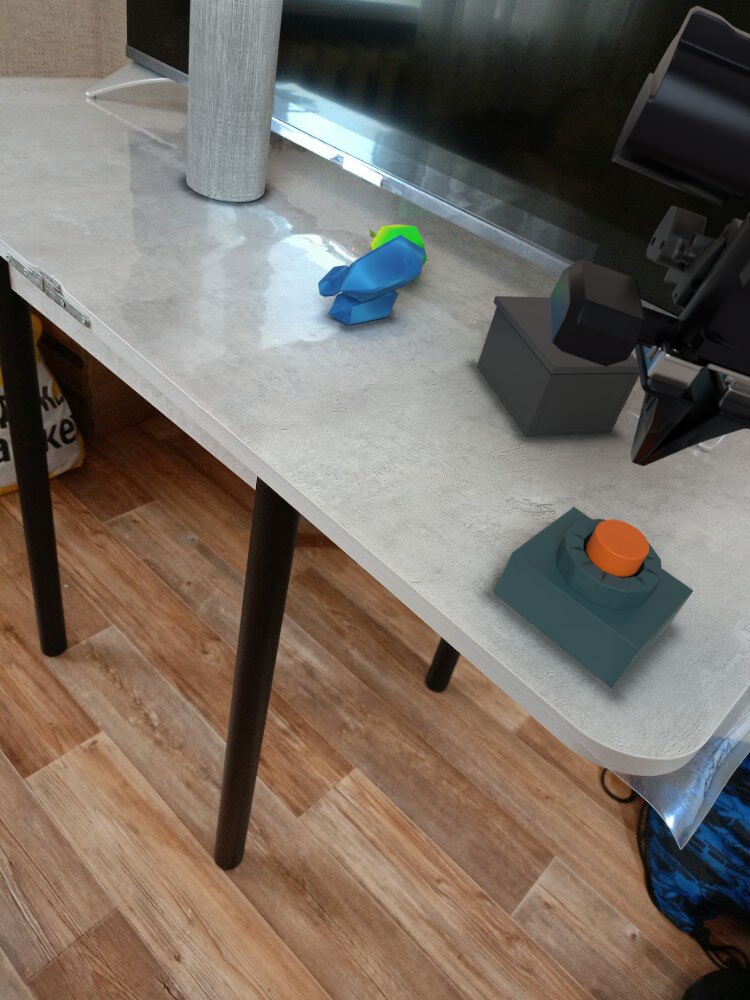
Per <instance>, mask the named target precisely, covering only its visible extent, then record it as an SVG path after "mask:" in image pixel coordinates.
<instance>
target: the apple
mask: <svg viewBox="0 0 750 1000" xmlns="http://www.w3.org/2000/svg"><path fill="white" fill-rule="evenodd" d="M368 229H369V230H368V231H369V236H370V238H373V239H372V240H371V243H370V249H371V251H373V250H374V249H376V248H378V247H380V246H381V245H383V244H385V243H387V242H388V241H390V240H392V239H394V238H395V237H397V236H399V235H402V236H404V237H405V238H407V239H408V240H410V241H411V242H413V243H415V244H416V245H418V246H419V247H421V248H423V249H424V250H425V255H424V260H423V265H422V268H423V267H424V265H425V264H426V262H427V261H428V258H427V253H426V247H425V243H424V241H423V239H422V236H421V235H420V234H421V233H420V232H419V229H418V228H417V226H416V225H415V226H414V225H407V224H398V223H397V224H390V225H382V226H381V227H380V229H379V230H378V232H377V233H376V232H375V231H374V230H373V229H372V228H370V227H368Z"/></svg>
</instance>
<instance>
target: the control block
mask: <svg viewBox="0 0 750 1000" xmlns="http://www.w3.org/2000/svg"><path fill="white" fill-rule="evenodd" d="M605 520H606V519H604V518H594V519H593V518H591V517H589V515H586V514H585V513H584V512H583V511H581V510H580V509H578V508H577V507H575V506H572V507H571V508H570V509H568V510H567V511H566V512H565V513H563V514H562V515H561V516H559V517H558V518H557V519H555V520H554V521H553V522H551V523H550V524H548V525H547V526H546V527H544V528H543V529H542V530H540V531H539V532H538V533H536V534H535V535H534V536H532V537H531V538H530V539H528V540H527V541H526V542H524V543H523V544H522V545H520V546H519V547H517V549H515V550H514V551H512V552H511V554H510V557H509V559H508V560H507V562H506V565H505V567H504V569H503V572H502V574H501V576H500V579H499V580H498V582H497V585H496V587H495V590H494V591H493V593H494V595H496V596H497V597H499V599H501V600H502V601H503V602H504V603H506V604H507V605H508V606H509V607H510V608H512V609H513V610H515V611H516V612H517V613H518V614H519V615H521V616H522V617H523V618H524V619H525V620H527V621H528V622H529V623H531V624H532V625H533V626H534V627H535V628H536V629H538V630H539V631H541V632H542V633H543V634H544V635H545V636H547V637H548V638H549V639H550V640H551V641H553V642H554V643H555V644H557V645H558V646H559V647H561V648H562V649H563V650H564V651H565V652H566V653H567V654H569V655H570V656H571V657H573V658H574V659H575V660H576V661H578V663H580V664H582V665H583V666H584V667H585V668H586V669H587V670H589V671H590V672H591V673H592V674H594V675H595V676H596V677H597V678H599V679H600V680H601V681H603V682H604V683H605V684H606V685H607V686H609V687H610V688H611V689H612V688H614V687H615V686H616V685H617V683H618V682H619V681H620V680H621V679H622V678H623V677H624V676H625V675H626V673H627V672H628V671H630V669H631V668H632V667H633V666H634V665H635V664H636V663H637V662H638V661H639V659H640V658H642V656H644V654H645V653H646V652H647V651H648V650H649V649H650V647H652V645H654V643H655V642H656V641H657V640H658V638H659V637H660V636H661V635H662V634H663V633H664V632H665V631H666V630H667V629H668V627H669V626H670V624H671V623H672V622H673V620H674V619H675V617H676V616H677V615H678V614H679V612H680V611H681V609H682V608H683V607H684V605H685V604H686V602H687V601H688V599H690V596H691V595H692V594H693V592H694V590H693V588H691V587H689V586H688V585H686V584H685V583H684V582H683V581H681V580H680V579H678V578H677V577H675V576H674V575H672V574H671V573H670V572H668V571H667V570H665V569H664V568H663V567H662V559H661V558H660V555H658V553H657V552H656V550H654V548H653V547H652V545H651V543H650V542H649V541H648V543H649V553H648V555H647V556H646V558H645V559H644V561H643V563H642V564H641V566H640V567H639V569H638V571H637V572H636V573H635V574H633V575H631V576H627V577H618V576H615V575H611V574H608V573H606V572H604V571H603V570H601V569H600V568H598V567H597V566H596V565H594V564H593V562H592V561H591V560H590V559H589V557H588V555H587V551H586V547H587V543H588V541H589V540H590V538H591V536H592V534H593V532H594V530H595V528H596V527H597V525H598V524H599V523H601V522H602V521H605Z"/></svg>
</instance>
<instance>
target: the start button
mask: <svg viewBox="0 0 750 1000" xmlns="http://www.w3.org/2000/svg"><path fill="white" fill-rule="evenodd" d="M604 520H605V521H602V522H601V523H599V524H598V525H597V527H596V528H595V530H594V532H593V534H592V536H591V538H590V540H589V541H588V543H587V547H586V551H587V555H588V557H589V559H590V560H591V561H592V562H593V564H594V565H596V566H597V567H598V568H600V569H601V570H603V571H604V572H606V573H608V574H611V575H615V576H618V577H627V576H631V575H633V574H635V573H636V572H637V571H638V569H639V567H640V566H641V564H642V563H643V561H644V559H645V558H646V556H647V555H648V553H649V544H650V542H649V541H648V539H647V538H646V536H645V534H643V533H642V531H641V530H639V529H638V528H637V527H635V526H634V525H632V524H630V523H628V522H626V521H622V520H619V519H604ZM648 542H649V543H648Z"/></svg>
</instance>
